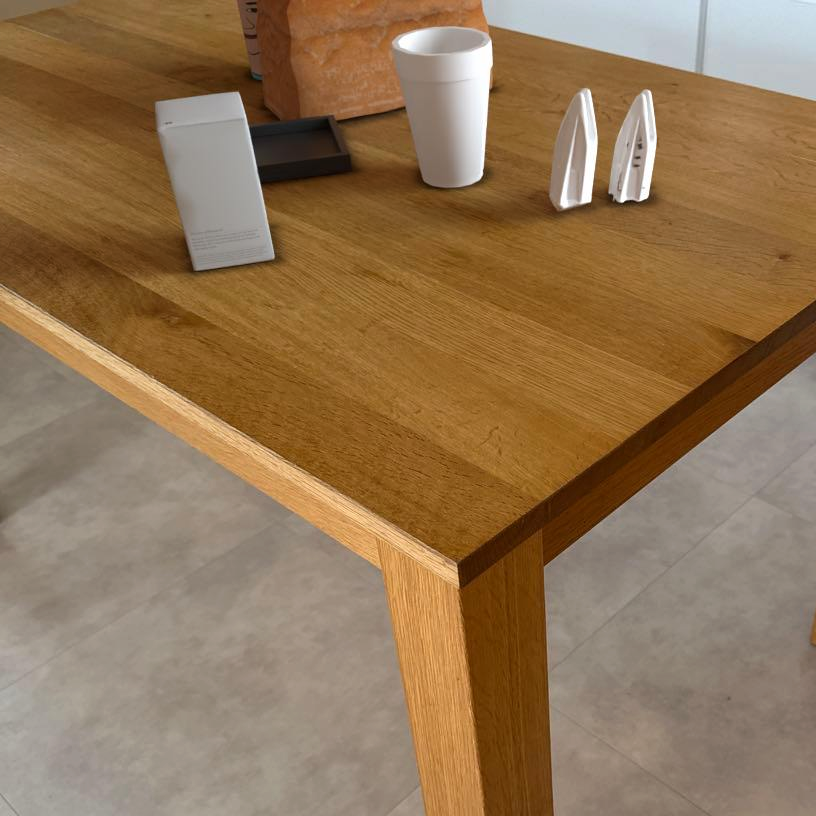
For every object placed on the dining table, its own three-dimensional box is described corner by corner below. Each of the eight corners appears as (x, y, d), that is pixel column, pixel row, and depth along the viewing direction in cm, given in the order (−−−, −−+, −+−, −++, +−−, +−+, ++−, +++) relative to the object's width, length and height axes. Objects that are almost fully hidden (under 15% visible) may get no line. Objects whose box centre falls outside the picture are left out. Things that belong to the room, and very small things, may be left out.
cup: (252, 67, 133) (226, -63, 123) (303, 62, 134) (281, -67, 124) (251, 83, 128) (224, -51, 118) (305, 78, 129) (282, -55, 119)
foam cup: (422, 155, 109) (409, 24, 100) (506, 160, 107) (500, 28, 98) (395, 191, 102) (379, 53, 93) (484, 196, 100) (476, 57, 91)
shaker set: (556, 226, 95) (555, 105, 87) (535, 210, 97) (532, 91, 90) (663, 198, 99) (670, 80, 91) (639, 184, 101) (644, 68, 94)
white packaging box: (277, 260, 91) (246, 117, 82) (192, 273, 89) (152, 128, 81) (269, 227, 96) (240, 88, 88) (189, 238, 95) (152, 99, 86)
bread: (257, 101, 123) (229, -38, 113) (454, 63, 132) (444, -69, 122) (295, 136, 114) (268, -12, 104) (504, 92, 123) (498, -48, 113)
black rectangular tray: (230, 187, 103) (226, 170, 102) (223, 144, 112) (219, 128, 111) (352, 171, 106) (350, 154, 105) (336, 130, 115) (333, 114, 114)
